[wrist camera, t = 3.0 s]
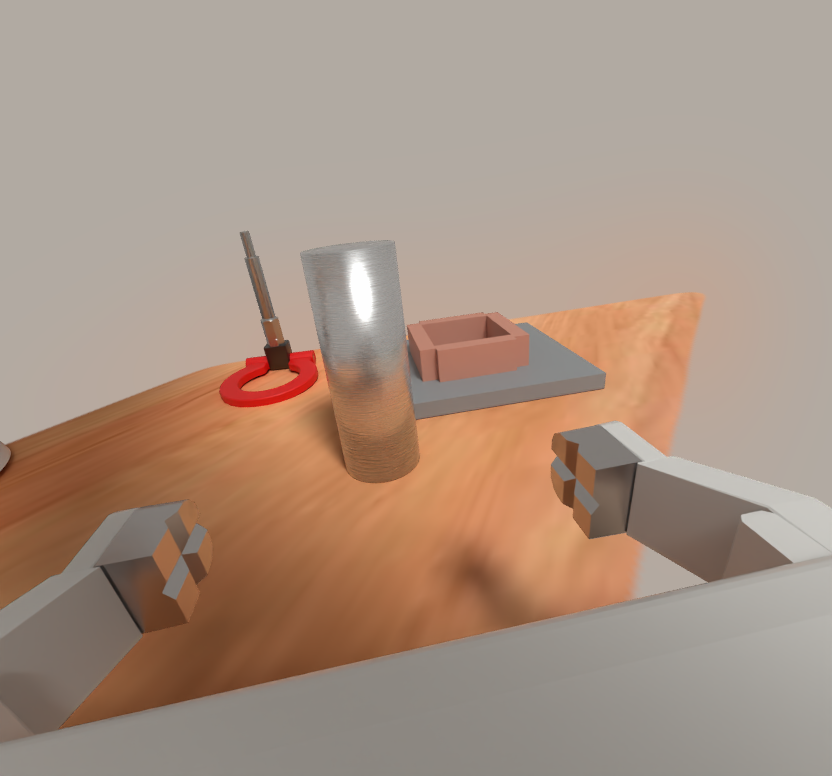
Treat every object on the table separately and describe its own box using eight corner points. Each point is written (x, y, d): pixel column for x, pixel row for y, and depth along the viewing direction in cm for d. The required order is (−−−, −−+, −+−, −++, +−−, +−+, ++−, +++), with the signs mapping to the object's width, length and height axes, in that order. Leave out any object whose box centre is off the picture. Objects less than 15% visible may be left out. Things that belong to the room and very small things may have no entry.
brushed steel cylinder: (345, 489, 21) (294, 258, 16) (346, 445, 25) (305, 248, 20) (425, 474, 22) (399, 245, 17) (414, 433, 26) (390, 238, 21)
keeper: (371, 426, 27) (362, 377, 26) (364, 357, 40) (358, 322, 38) (604, 388, 29) (609, 339, 27) (526, 333, 41) (527, 298, 40)
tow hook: (310, 405, 32) (326, 360, 40) (266, 238, 26) (295, 224, 34) (208, 417, 32) (244, 370, 40) (140, 253, 26) (198, 236, 34)
